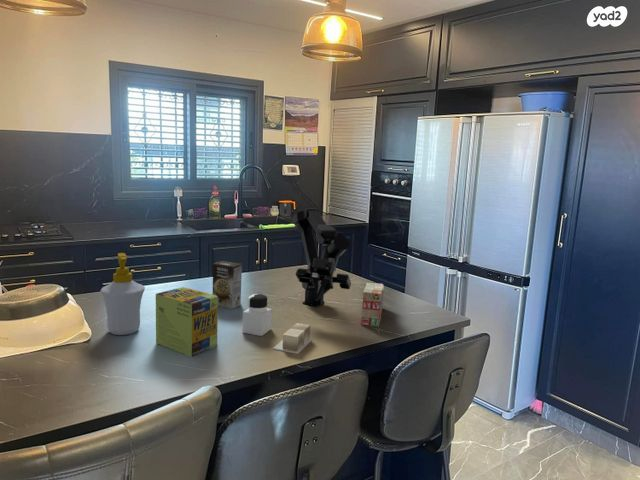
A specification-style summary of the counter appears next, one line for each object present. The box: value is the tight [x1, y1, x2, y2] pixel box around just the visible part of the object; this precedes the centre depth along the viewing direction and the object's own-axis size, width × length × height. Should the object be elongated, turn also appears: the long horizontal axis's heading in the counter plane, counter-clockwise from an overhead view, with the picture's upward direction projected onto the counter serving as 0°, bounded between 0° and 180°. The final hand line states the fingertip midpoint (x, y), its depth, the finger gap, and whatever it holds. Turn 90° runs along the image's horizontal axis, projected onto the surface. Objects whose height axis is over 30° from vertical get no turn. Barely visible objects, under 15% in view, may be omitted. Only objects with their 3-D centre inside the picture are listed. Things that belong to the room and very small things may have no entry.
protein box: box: [155, 286, 219, 357], centre depth 139 cm, size 10×15×16 cm
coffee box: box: [212, 260, 243, 310], centre depth 176 cm, size 9×6×16 cm
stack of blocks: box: [360, 282, 385, 328], centre depth 172 cm, size 21×6×12 cm, turn 169°
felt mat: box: [272, 338, 312, 355], centre depth 144 cm, size 11×8×1 cm
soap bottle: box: [100, 252, 146, 336], centre depth 146 cm, size 13×13×25 cm
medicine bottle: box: [242, 293, 273, 337], centre depth 153 cm, size 7×7×12 cm
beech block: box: [282, 322, 312, 352], centre depth 144 cm, size 4×4×11 cm
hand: (316, 300), depth 158 cm, fingers closed
